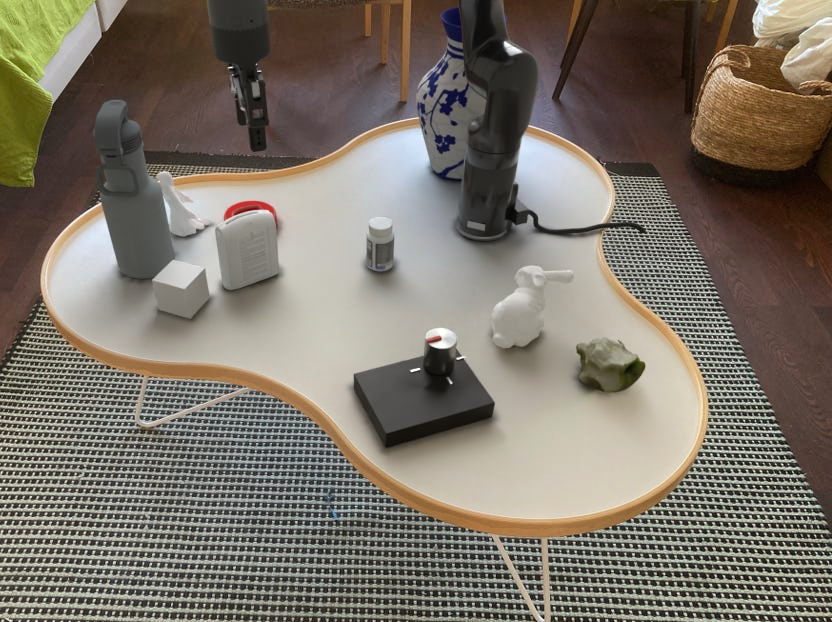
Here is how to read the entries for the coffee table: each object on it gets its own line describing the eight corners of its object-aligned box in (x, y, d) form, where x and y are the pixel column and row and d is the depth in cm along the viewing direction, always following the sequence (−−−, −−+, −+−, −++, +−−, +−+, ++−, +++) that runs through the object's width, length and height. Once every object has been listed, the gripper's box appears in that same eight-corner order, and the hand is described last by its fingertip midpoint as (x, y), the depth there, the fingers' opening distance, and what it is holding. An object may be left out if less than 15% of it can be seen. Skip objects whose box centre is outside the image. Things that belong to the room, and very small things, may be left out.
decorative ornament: (279, 214, 140) (277, 199, 137) (275, 242, 133) (274, 227, 130) (228, 214, 140) (226, 199, 137) (222, 242, 133) (220, 227, 130)
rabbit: (511, 304, 119) (523, 242, 111) (565, 326, 115) (581, 264, 107) (475, 344, 112) (485, 281, 104) (531, 369, 108) (546, 306, 100)
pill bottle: (397, 260, 128) (399, 219, 123) (387, 274, 125) (388, 233, 120) (372, 253, 130) (373, 212, 124) (361, 268, 127) (362, 226, 121)
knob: (445, 351, 107) (448, 323, 103) (459, 370, 104) (462, 342, 100) (417, 358, 106) (420, 330, 102) (430, 378, 103) (433, 350, 99)
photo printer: (271, 262, 128) (265, 199, 120) (283, 274, 126) (278, 211, 117) (218, 281, 124) (208, 218, 116) (229, 294, 121) (220, 231, 113)
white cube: (178, 289, 123) (173, 259, 118) (210, 297, 121) (205, 267, 117) (158, 309, 118) (151, 279, 114) (190, 319, 117) (184, 288, 113)
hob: (450, 353, 111) (452, 338, 109) (494, 417, 101) (497, 401, 99) (349, 380, 107) (349, 364, 104) (385, 448, 97) (385, 433, 95)
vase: (425, 195, 144) (438, 39, 124) (401, 151, 158) (409, 3, 138) (517, 186, 147) (543, 31, 127) (485, 143, 161) (505, -3, 140)
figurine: (164, 221, 138) (152, 163, 130) (206, 214, 140) (197, 156, 131) (169, 243, 132) (157, 183, 124) (213, 235, 134) (204, 176, 126)
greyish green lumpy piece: (641, 407, 104) (653, 374, 98) (573, 403, 106) (581, 371, 100) (636, 355, 110) (647, 321, 103) (571, 352, 111) (578, 318, 105)
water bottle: (169, 282, 124) (136, 125, 105) (112, 282, 124) (68, 125, 105) (180, 248, 131) (151, 95, 112) (126, 248, 131) (87, 95, 112)
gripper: (281, 32, 89) (290, 155, 100) (255, -4, 99) (266, 112, 110) (219, 40, 87) (236, 164, 98) (200, 3, 97) (216, 119, 108)
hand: (252, 136), depth 104 cm, fingers open, 8 cm apart
